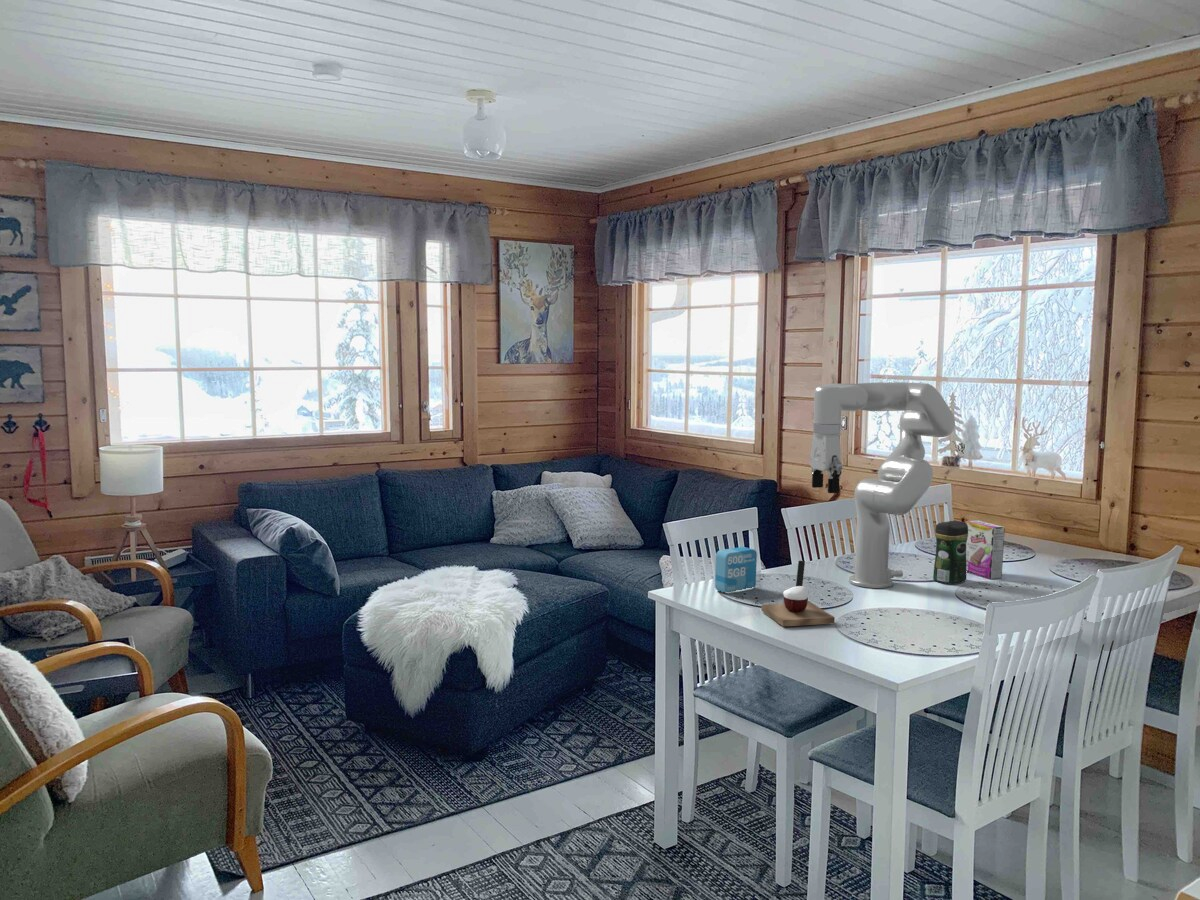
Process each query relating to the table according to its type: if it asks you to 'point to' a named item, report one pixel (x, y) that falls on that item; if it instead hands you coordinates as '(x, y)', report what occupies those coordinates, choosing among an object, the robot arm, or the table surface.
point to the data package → (735, 569)
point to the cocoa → (797, 593)
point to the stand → (797, 615)
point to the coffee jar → (950, 552)
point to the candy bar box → (985, 549)
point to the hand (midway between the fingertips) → (825, 490)
